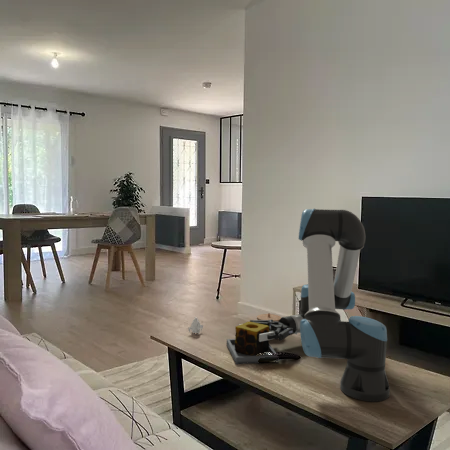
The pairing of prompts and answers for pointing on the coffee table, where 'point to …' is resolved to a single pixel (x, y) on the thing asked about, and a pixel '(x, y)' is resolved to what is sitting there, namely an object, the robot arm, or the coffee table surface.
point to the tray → (243, 358)
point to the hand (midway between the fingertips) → (249, 332)
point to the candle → (251, 338)
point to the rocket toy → (195, 326)
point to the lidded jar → (269, 318)
